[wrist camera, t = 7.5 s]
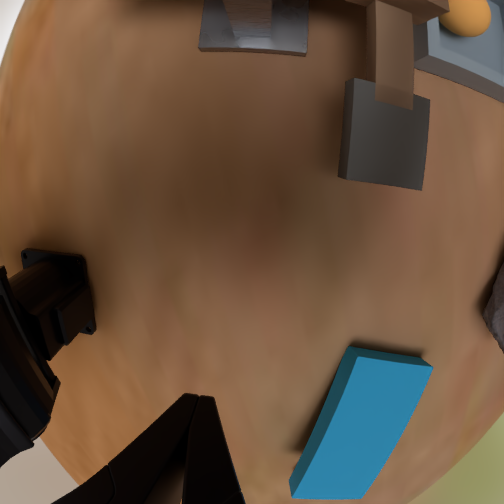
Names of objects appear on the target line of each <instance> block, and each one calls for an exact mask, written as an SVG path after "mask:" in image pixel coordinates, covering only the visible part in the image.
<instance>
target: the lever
mask: <svg viewBox="0 0 504 504" xmlns="http://www.w3.org/2000/svg"><path fill="white" fill-rule="evenodd" d="M344 1H348V2H352V3H355V4H359V5H362V6H365V7H366V8H367V62H366V80H362V79H358V78H353V79H350V80H348V81H346V82H345V99H344V114H343V127H342V139H341V149H340V160H339V169H338V177H340V178H343V179H346V180H354V181H362V182H369V183H376V184H383V185H390V186H396V187H403V188H409V189H415V190H421V191H422V185H423V178H424V170H425V161H426V152H427V141H428V129H429V112H430V100H429V99H427V98H424V97H421V96H418V95H415V94H413V90H414V44H413V24H415V25H420V24H422V23H424V22H427V21H429V20H431V19H433V18H436V17H438V16H440V15H443V14H445V13H448V12H450V9H449V2H448V0H344Z"/></svg>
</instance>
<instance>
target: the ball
mask: <svg viewBox="0 0 504 504" xmlns="http://www.w3.org/2000/svg"><path fill="white" fill-rule="evenodd" d="M448 2H449V9H450V12H448V13H445V14H443V15H440V16H438V20H439V21H440V22H441V24H442V25H444V26H445V27H446V28H447V29H448V30H450V31H451V32H453V33H455V34H457V35H460V36H464V37H476V36H479V35H481V34H483V33H484V32H485V31H486V30H487V29H488V27H489V25H490V22H491V11H490V7H489V5H488V3H487V1H486V0H448Z"/></svg>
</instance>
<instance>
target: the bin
mask: <svg viewBox="0 0 504 504" xmlns="http://www.w3.org/2000/svg"><path fill="white" fill-rule="evenodd" d="M486 1H487V3H488V5H489V7H490V11H491V22H490V25H489V27H488V29H487V30H486V31H485V32H484V33H483V34H481V35H479V36H476V37H464V36H460V35H457V34H455V33H453V32H451V31H450V30H448V29H447V28H446V27H445V26H444V25H442V24H441V22H440V21H439V20H438V17H436V18H433V19H431V20H429V21H427V22H424V23H422V24H420V25H415V24H413V44H414V68H416V69H419V70H423V71H426V72H429V73H432V74H435V75H438V76H440V77H443V78H446V79H449V80H451V81H454V82H457V83H459V84H462V85H464V86H467V87H469V88H472V89H474V90H476V91H479V92H481V93H483V94H485V95H488V96H490V97H492V98H494V99H496V100H498V101H500V102H503V103H504V0H486Z"/></svg>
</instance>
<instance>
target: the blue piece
mask: <svg viewBox="0 0 504 504" xmlns="http://www.w3.org/2000/svg"><path fill="white" fill-rule="evenodd" d="M432 370H433V367H432V366H431V365H430V364H428V363H427V362H426V361H424V360H423V359H421V358H419V357H412V356H406V355H399V354H393V353H386V352H380V351H374V350H369V349H363V348H357V347H352V346H348V348H347V350H346V352H345V354H344V356H343V358H342V360H341V363H340V365H339V368H338V371H337V373H336V376H335V379H334V381H333V384H332V386H331V389H330V391H329V394H328V396H327V399H326V401H325V404H324V406H323V408H322V411H321V413H320V415H319V418H318V420H317V422H316V425H315V427H314V429H313V431H312V433H311V436H310V438H309V440H308V442H307V444H306V446H305V449H304V451H303V453H302V455H301V457H300V459H299V461H298V463H297V465H296V467H295V469H294V471H293V473H292V475H291V477H290V479H289V485H290V490H291V496H292V498H298V499H361V498H362V497H363V496H364V495H365V493H366V492H367V490H368V489H369V487H370V486H371V484H372V483H373V481H374V480H375V478H376V477H377V475H378V474H379V472H380V471H381V469H382V468H383V466H384V464H385V463H386V461H387V459H388V458H389V456H390V454H391V453H392V451H393V449H394V448H395V446H396V444H397V442H398V440H399V439H400V437H401V435H402V433H403V431H404V430H405V428H406V426H407V424H408V422H409V420H410V418H411V416H412V414H413V412H414V410H415V408H416V406H417V404H418V402H419V400H420V397H421V395H422V393H423V391H424V389H425V386H426V384H427V382H428V380H429V377H430V375H431V372H432Z"/></svg>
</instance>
